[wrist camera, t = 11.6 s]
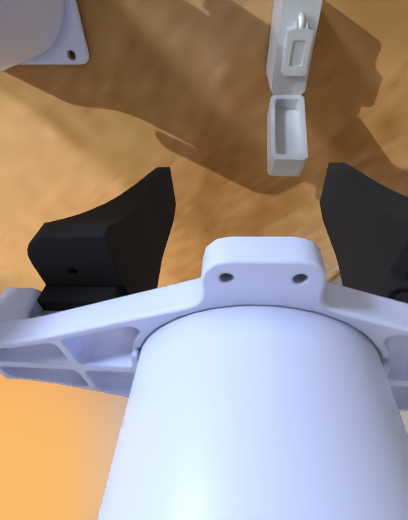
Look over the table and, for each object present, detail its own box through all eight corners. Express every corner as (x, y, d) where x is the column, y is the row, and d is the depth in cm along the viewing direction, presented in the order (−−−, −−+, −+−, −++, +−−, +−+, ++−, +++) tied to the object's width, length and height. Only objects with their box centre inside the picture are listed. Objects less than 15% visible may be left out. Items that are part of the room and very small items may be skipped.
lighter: (275, -14, 16) (295, -4, 10) (308, -15, 16) (347, -5, 10) (260, 123, 21) (268, 181, 15) (285, 123, 21) (302, 182, 15)
